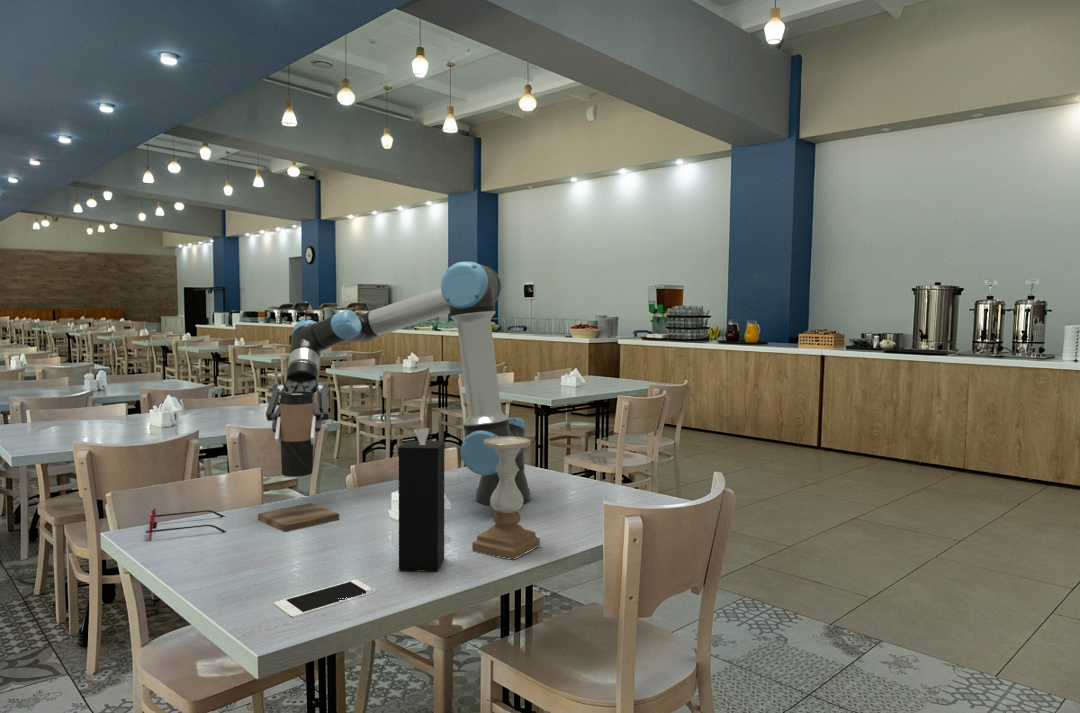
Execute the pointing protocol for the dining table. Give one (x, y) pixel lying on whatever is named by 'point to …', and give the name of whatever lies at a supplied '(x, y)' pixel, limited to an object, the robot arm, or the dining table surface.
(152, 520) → the glasses
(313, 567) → the dining table surface
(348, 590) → the cell phone
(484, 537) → the candle holder
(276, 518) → the walnut board
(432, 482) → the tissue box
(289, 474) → the travel mug
